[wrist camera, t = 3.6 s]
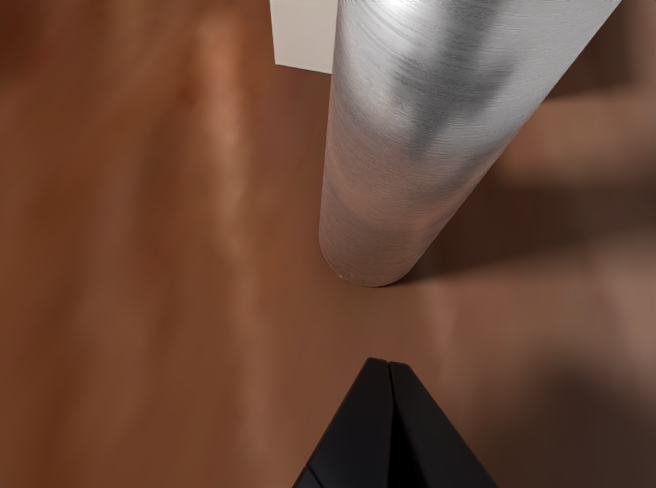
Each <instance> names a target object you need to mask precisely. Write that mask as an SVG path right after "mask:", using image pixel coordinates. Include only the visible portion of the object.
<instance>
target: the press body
mask: <svg viewBox="0 0 656 488" xmlns="http://www.w3.org/2000/svg"><path fill="white" fill-rule="evenodd" d="M337 5H338V0H270V7H271V19H272V31H273V42H274V54H275V64H278V65H284V66H290V67H295V68H301V69H307V70H312V71H318V72H324V73H329V74H332V66H333V54H334V42H335V30H336V17H337Z"/></svg>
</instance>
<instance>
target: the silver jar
mask: <svg viewBox="0 0 656 488" xmlns="http://www.w3.org/2000/svg"><path fill="white" fill-rule="evenodd" d="M620 2H621V0H338V5H337V17H336V30H335V42H334V54H333V66H332V78H331V91H330V103H329V115H328V127H327V139H326V152H325V164H324V176H323V188H322V200H321V213H320V225H319V244H320V249H321V252H322V254H323V257H324V259H325V260H326V262H327V263H328V265H329V266H330V267H331V268H332V270H333V271H334V272H336V273H337V274H338V275H339V276H341V277H342V278H343V279H345V280H347V281H349V282H351V283H354V284H357V285H361V286H368V287H378V286H384V285H388V284H391V283H393V282H396V281H397V280H399V279H401V278H402V277H403V276H405V275H406V274H407V273H408V272H409V271H410V270H411V269H412V267H413V266H414V265H415V264H416V262H417V261H418V260H419V259H420V257H421V256H422V255H423V253H424V252H425V251H426V250H427V248H428V247H429V246H430V244H431V243H432V242H433V241H434V239H435V238H436V237H437V236H438V234H439V233H440V232H441V230H442V229H443V228H444V227H445V225H446V224H447V223H448V221H449V220H450V219H451V218H452V216H453V215H454V214H455V213H456V211H457V210H458V209H459V207H460V206H461V205H462V204H463V202H464V201H465V200H466V198H467V197H468V196H469V195H470V193H471V192H472V191H473V190H474V188H475V187H476V186H477V184H478V183H479V182H480V181H481V179H482V178H483V177H484V175H485V174H486V173H487V172H488V170H489V169H490V168H491V167H492V165H493V164H494V163H495V161H496V160H497V159H498V158H499V156H500V155H501V154H502V152H503V151H504V150H505V149H506V147H507V146H508V145H509V144H510V142H511V141H512V140H513V138H514V137H515V136H516V135H517V133H518V132H519V131H520V129H521V128H522V127H523V126H524V124H525V123H526V122H527V121H528V119H529V118H530V117H531V115H532V114H533V113H534V112H535V110H536V109H537V108H538V106H539V105H540V104H541V103H542V101H543V100H544V99H545V98H546V96H547V95H548V94H549V92H550V91H551V90H552V89H553V87H554V86H555V85H556V83H557V82H558V81H559V80H560V78H561V77H562V76H563V75H564V73H565V72H566V71H567V69H568V68H569V67H570V66H571V64H572V63H573V62H574V60H575V59H576V58H577V57H578V55H579V54H580V53H581V51H582V50H583V49H584V48H585V46H586V45H587V44H588V43H589V41H590V40H591V39H592V37H593V36H594V35H595V34H596V32H597V31H598V30H599V28H600V27H601V26H602V25H603V23H604V22H605V21H606V20H607V18H608V17H609V16H610V14H611V13H612V12H613V11H614V9H615V8H616V7H617V5H618V4H619V3H620Z"/></svg>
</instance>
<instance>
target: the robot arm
mask: <svg viewBox="0 0 656 488" xmlns="http://www.w3.org/2000/svg"><path fill="white" fill-rule="evenodd" d="M292 488H499V487H498V486H497V484H496V483H495V482H494V480H493V479H492V478H491V476H490V475H489V474H488V472H487V471H486V469H485V468H484V467H483V465H482V464H481V463H480V461H479V460H478V459H477V457H476V456H475V455H474V453H473V452H472V450H471V449H470V448H469V446H468V445H467V444H466V442H465V441H464V440H463V438H462V437H461V435H460V434H459V433H458V431H457V430H456V429H455V427H454V426H453V425H452V423H451V422H450V421H449V419H448V418H447V416H446V415H445V414H444V412H443V411H442V410H441V408H440V407H439V406H438V404H437V403H436V401H435V400H434V399H433V397H432V396H431V395H430V393H429V392H428V391H427V389H426V388H425V387H424V385H423V384H422V382H421V381H420V380H419V378H418V377H417V376H416V374H415V373H414V372H413V370H412V369H411V367H410V366H409V365H407V364H404V363H399V362H393V361H390V362H387V361H386V360H383V359H377V358H372V357H369V358H368V359H367V360H366V362H365V363H364V365H363V367H362V369H361V370H360V372H359V374H358V375H357V377H356V379H355V381H354V382H353V384H352V386H351V388H350V389H349V391H348V393H347V394H346V396H345V398H344V400H343V401H342V403H341V405H340V406H339V408H338V410H337V412H336V413H335V415H334V417H333V419H332V420H331V422H330V424H329V425H328V427H327V429H326V431H325V432H324V434H323V436H322V437H321V439H320V441H319V443H318V444H317V446H316V448H315V450H314V451H313V453H312V455H311V456H310V458H309V460H308V462H307V463H306V466H305V467H304V468H303V470H302V471H301V473H300V475H299V477H298V478H297V480H296V482H295V483H294V485H293V486H292Z"/></svg>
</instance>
